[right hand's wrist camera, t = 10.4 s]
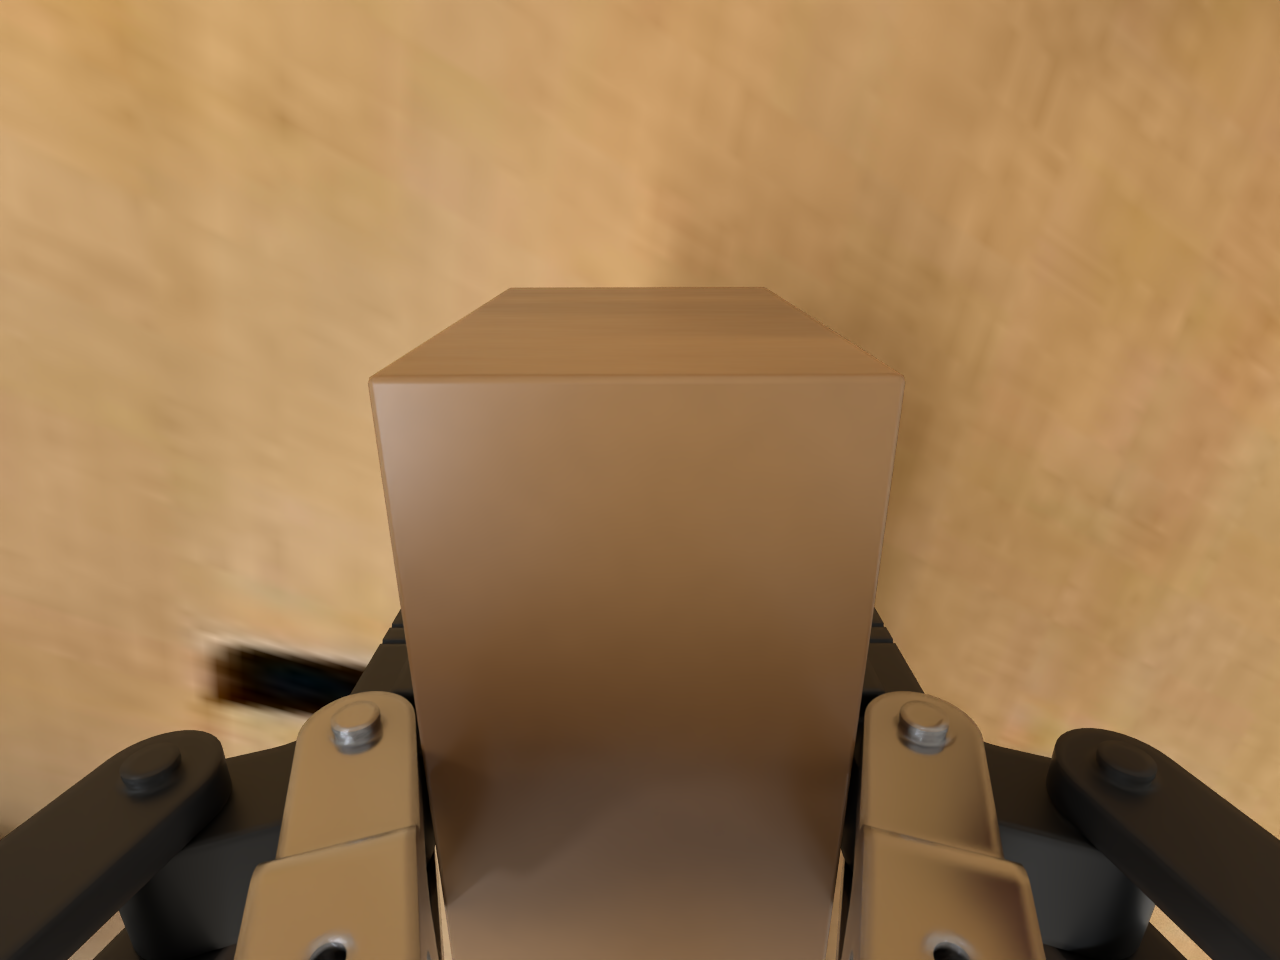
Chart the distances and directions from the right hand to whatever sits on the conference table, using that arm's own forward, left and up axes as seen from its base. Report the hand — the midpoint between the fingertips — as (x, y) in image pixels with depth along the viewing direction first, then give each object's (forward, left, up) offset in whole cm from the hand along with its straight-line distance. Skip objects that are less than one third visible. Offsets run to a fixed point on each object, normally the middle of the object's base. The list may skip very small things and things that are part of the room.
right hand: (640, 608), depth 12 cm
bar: (+26, -6, -2) cm, 27 cm away
